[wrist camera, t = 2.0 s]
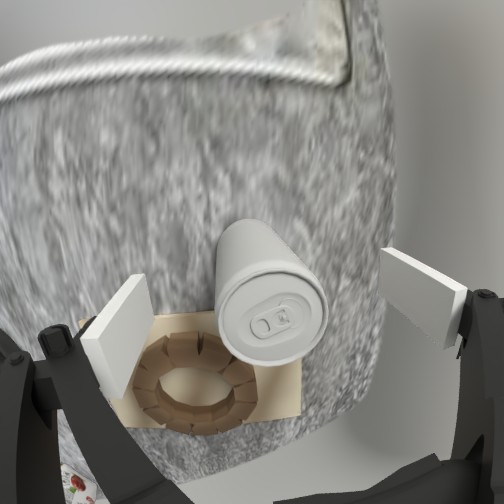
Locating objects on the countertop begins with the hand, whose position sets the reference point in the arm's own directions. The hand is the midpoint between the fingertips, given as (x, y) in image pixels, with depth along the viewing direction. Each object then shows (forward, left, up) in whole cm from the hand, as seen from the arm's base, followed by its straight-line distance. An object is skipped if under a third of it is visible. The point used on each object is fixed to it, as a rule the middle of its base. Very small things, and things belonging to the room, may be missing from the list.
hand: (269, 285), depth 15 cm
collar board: (-6, -12, -8) cm, 16 cm away
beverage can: (0, 0, -8) cm, 8 cm away
